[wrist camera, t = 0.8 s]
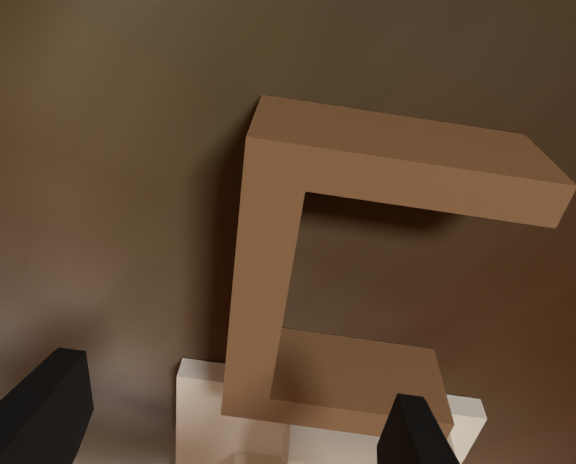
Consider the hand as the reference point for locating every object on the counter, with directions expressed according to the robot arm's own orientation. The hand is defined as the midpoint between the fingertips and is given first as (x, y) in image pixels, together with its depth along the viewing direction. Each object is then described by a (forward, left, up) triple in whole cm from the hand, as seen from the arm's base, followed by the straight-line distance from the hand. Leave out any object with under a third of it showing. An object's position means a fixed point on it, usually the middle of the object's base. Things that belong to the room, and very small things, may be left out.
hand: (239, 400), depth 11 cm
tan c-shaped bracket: (-3, 0, -7) cm, 8 cm away
